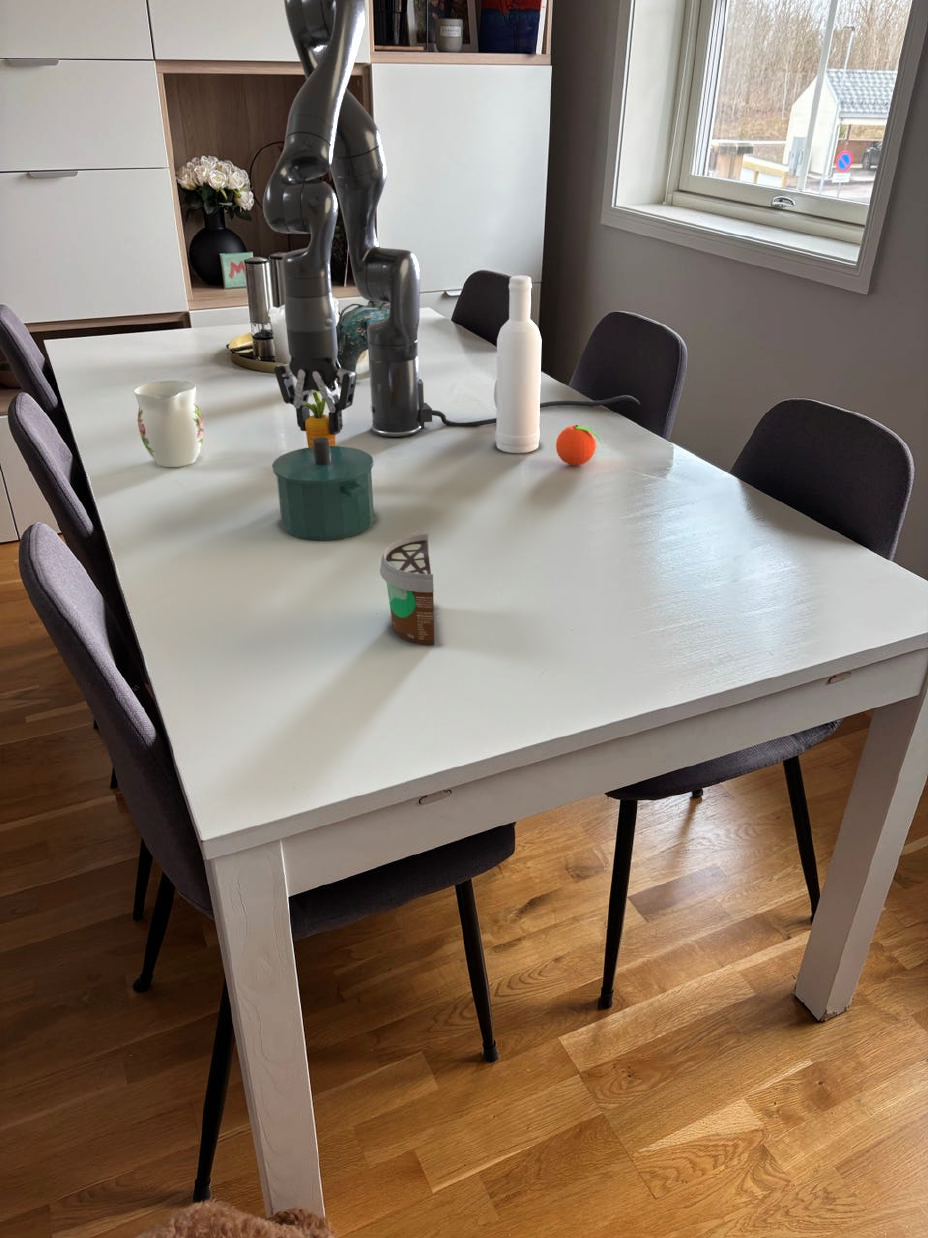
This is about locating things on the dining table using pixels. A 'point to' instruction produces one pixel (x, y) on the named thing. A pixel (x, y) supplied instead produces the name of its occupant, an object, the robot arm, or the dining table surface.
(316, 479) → the pot lid
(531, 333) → the bottle
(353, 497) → the pot
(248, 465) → the dining table surface
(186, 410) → the pitcher
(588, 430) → the clementine
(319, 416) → the carrot
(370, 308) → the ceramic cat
